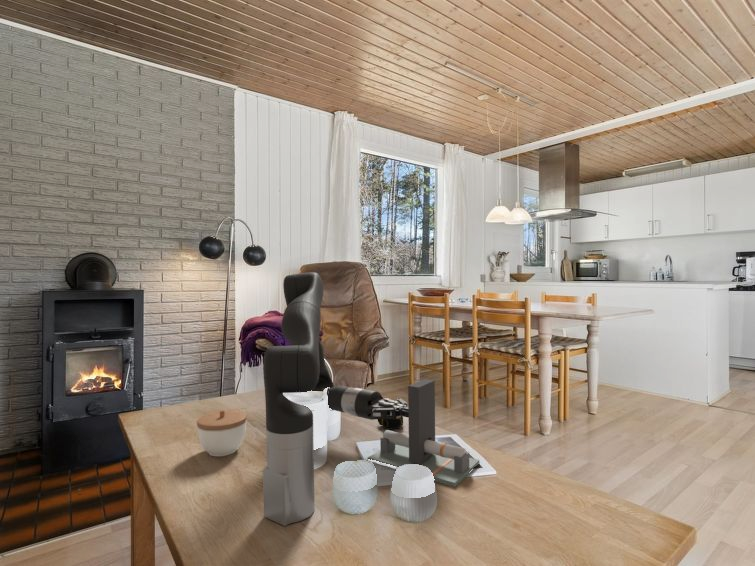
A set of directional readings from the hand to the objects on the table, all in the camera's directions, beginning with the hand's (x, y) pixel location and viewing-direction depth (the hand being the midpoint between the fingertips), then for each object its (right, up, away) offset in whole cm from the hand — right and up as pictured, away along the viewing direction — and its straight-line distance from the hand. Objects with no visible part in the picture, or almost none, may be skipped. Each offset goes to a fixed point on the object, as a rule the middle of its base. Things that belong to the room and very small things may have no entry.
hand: (416, 413), depth 110 cm
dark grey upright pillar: (+1, -11, -1) cm, 11 cm away
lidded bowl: (-52, -13, +8) cm, 54 cm away
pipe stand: (+2, -12, -1) cm, 12 cm away
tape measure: (-6, -12, +25) cm, 29 cm away
